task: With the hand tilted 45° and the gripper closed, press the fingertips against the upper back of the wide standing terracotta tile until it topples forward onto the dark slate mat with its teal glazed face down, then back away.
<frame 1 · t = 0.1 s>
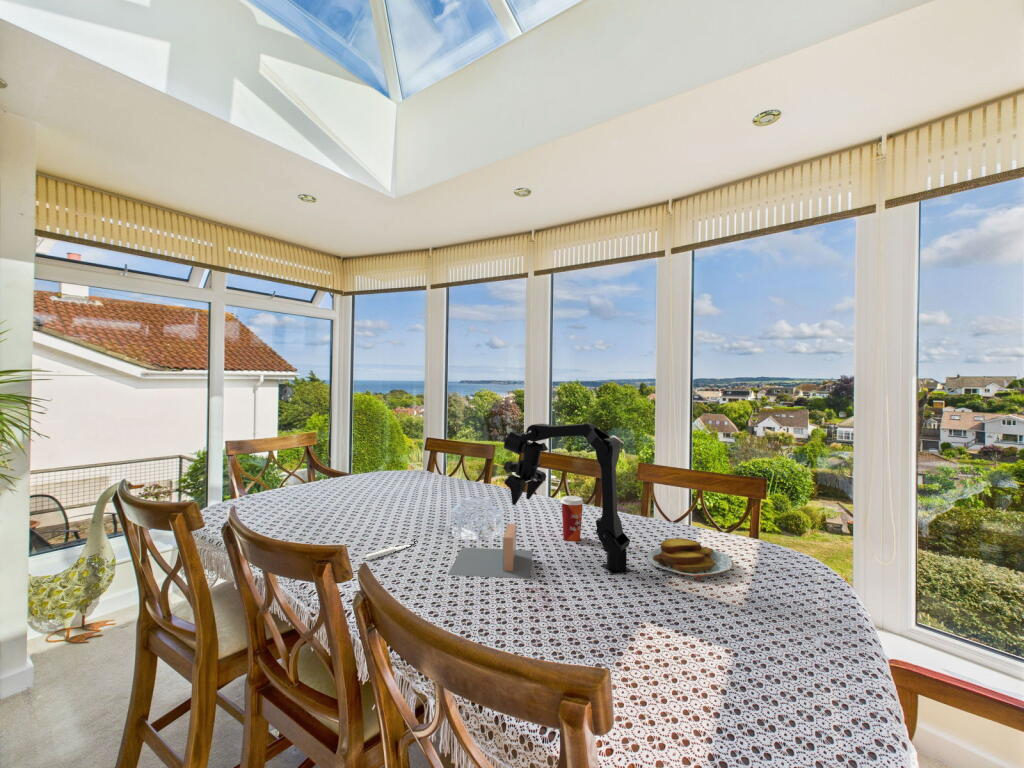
hand: (520, 501, 157), 15 cm above the table, tool pointing down, fingers open, 9 cm apart
food on plate: (688, 566, 143), on the table
mat: (493, 563, 141), on the table
tile: (514, 562, 141), point 1 cm above the table, touching mat
coffee cup: (571, 539, 165), on the table
knife: (400, 547, 156), on the table
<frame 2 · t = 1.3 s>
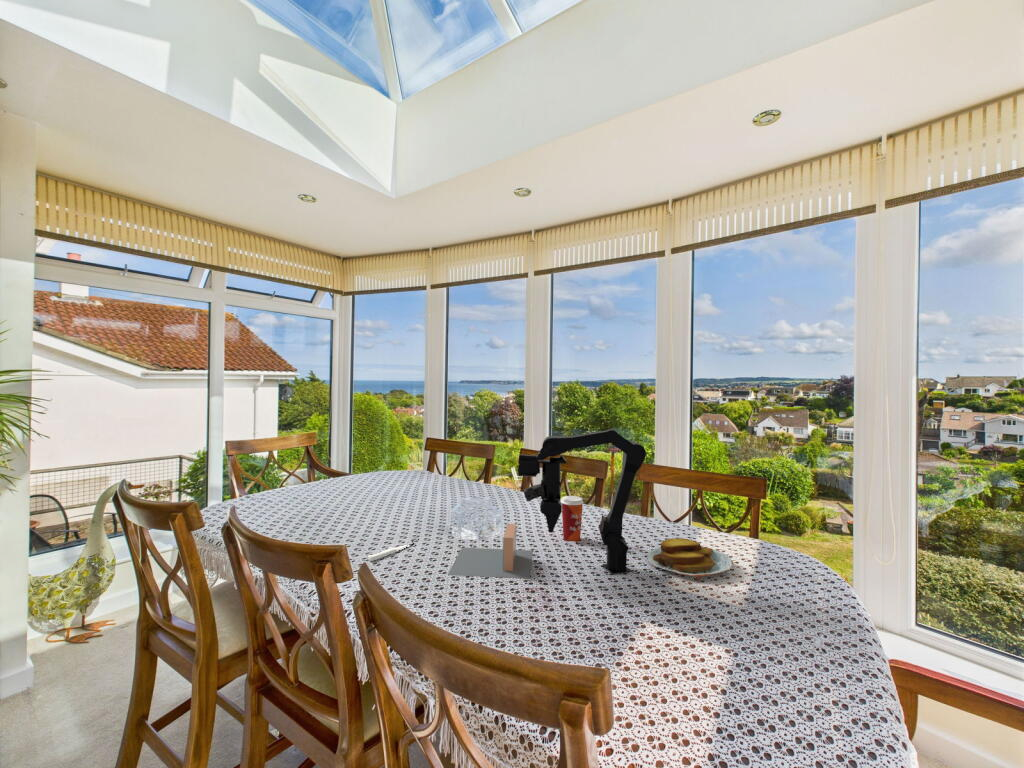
hand: (550, 527, 140), 12 cm above the table, tool pointing down, fingers open, 9 cm apart
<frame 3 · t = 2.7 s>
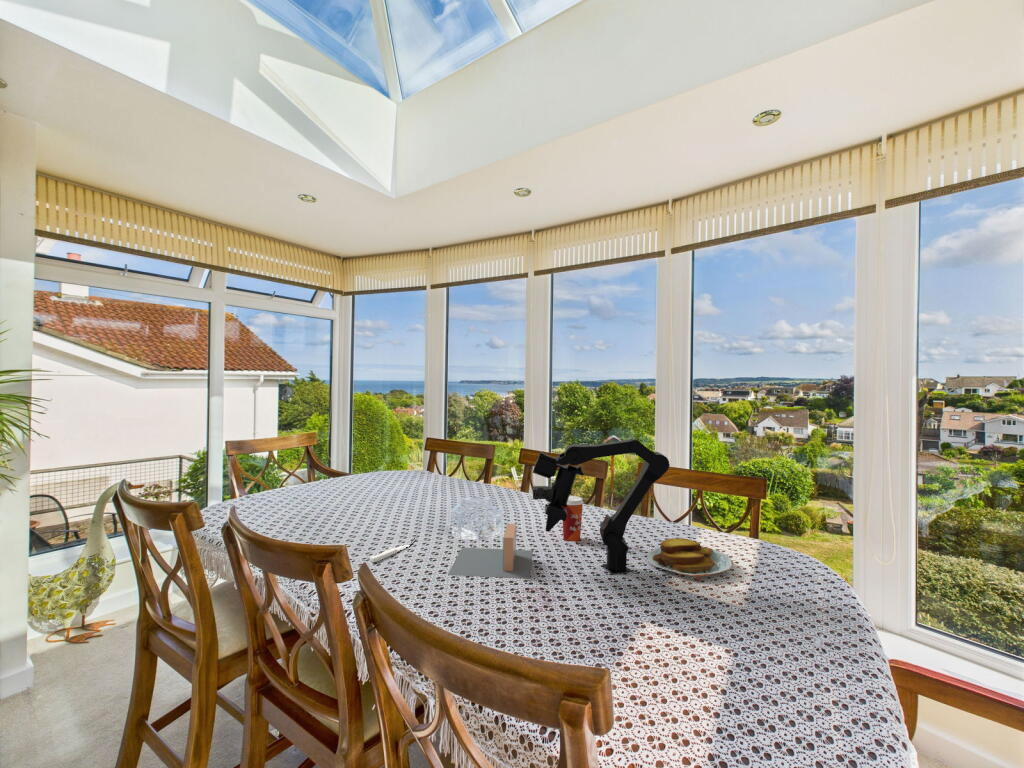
hand: (546, 531, 140), 11 cm above the table, tool tilted 20°, fingers closed
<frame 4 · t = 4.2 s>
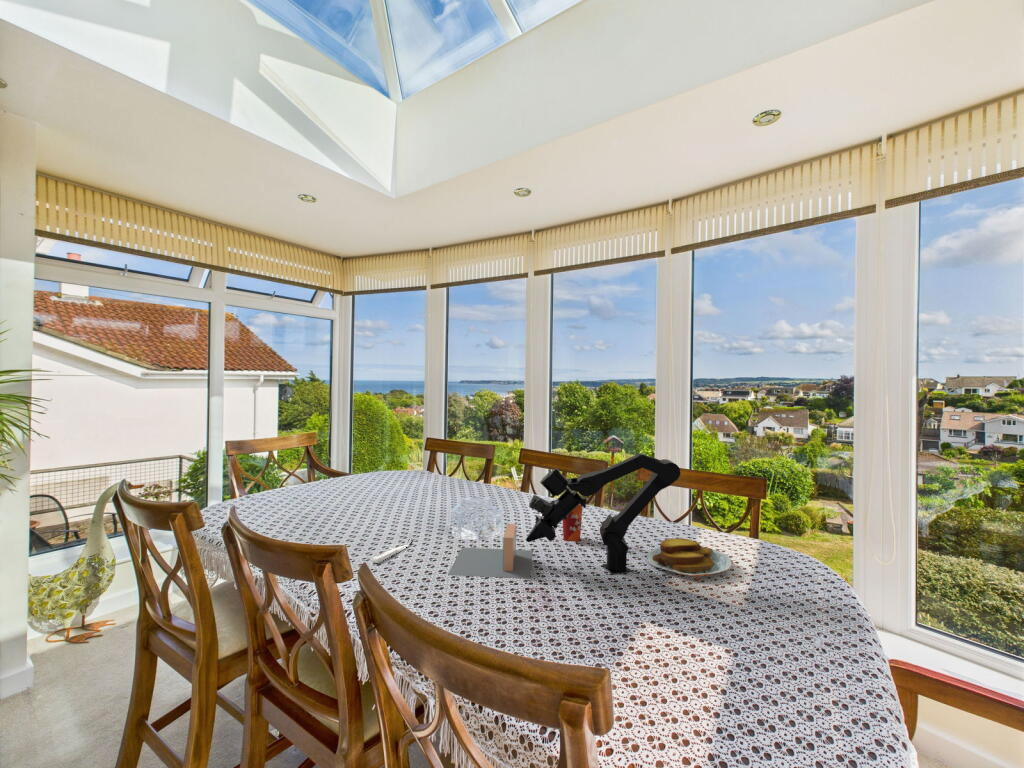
hand: (526, 540, 141), 8 cm above the table, tool tilted 45°, fingers closed
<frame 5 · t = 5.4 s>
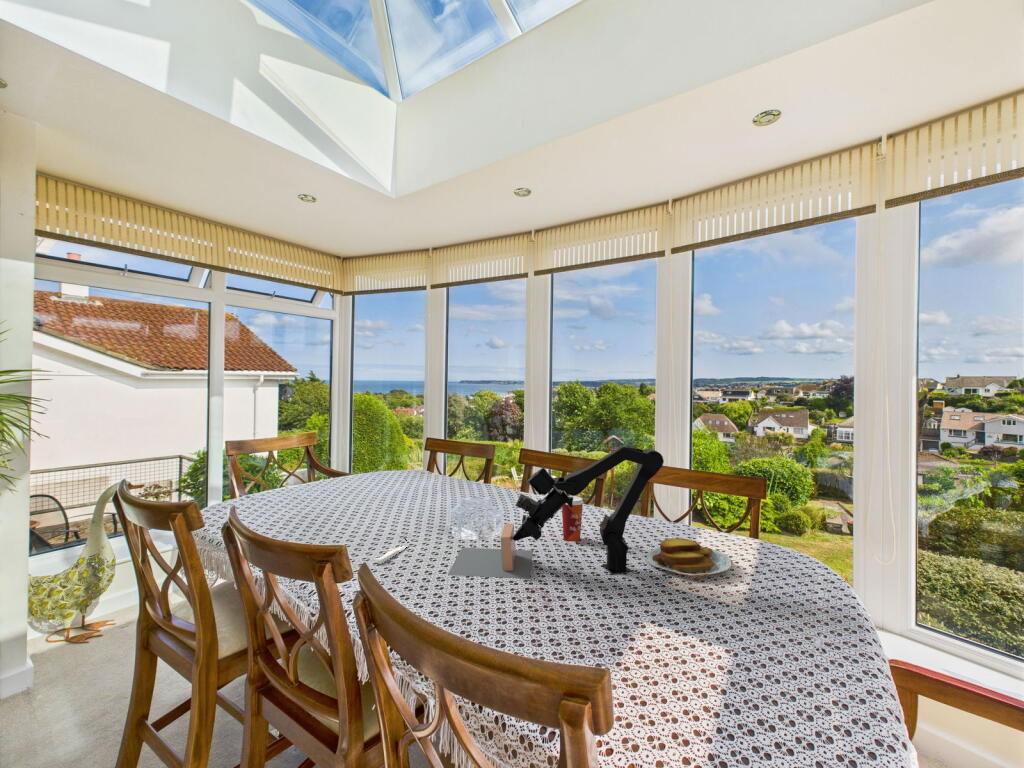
hand: (513, 539, 141), 8 cm above the table, tool tilted 45°, fingers closed, pressing on tile
tile: (514, 562, 141), point 1 cm above the table, touching gripper, mat
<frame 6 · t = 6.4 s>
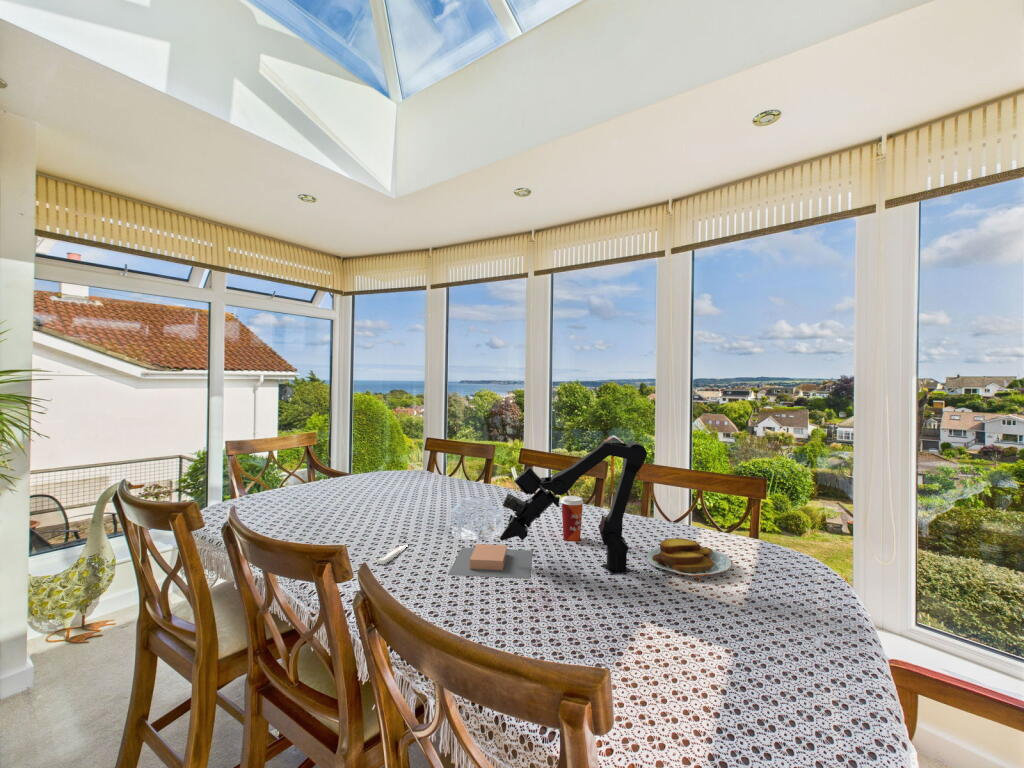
hand: (500, 539, 141), 8 cm above the table, tool tilted 45°, fingers closed
tile: (505, 552, 141), point 4 cm above the table, tilted 90°, touching mat
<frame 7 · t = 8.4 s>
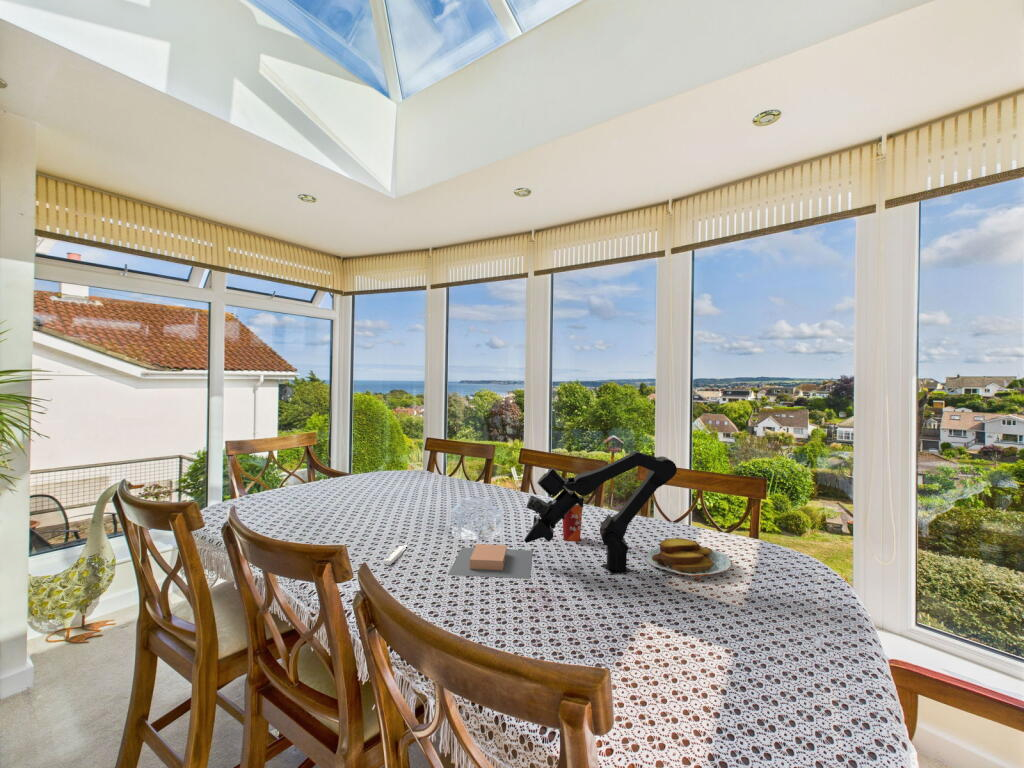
hand: (525, 541, 141), 7 cm above the table, tool tilted 45°, fingers closed
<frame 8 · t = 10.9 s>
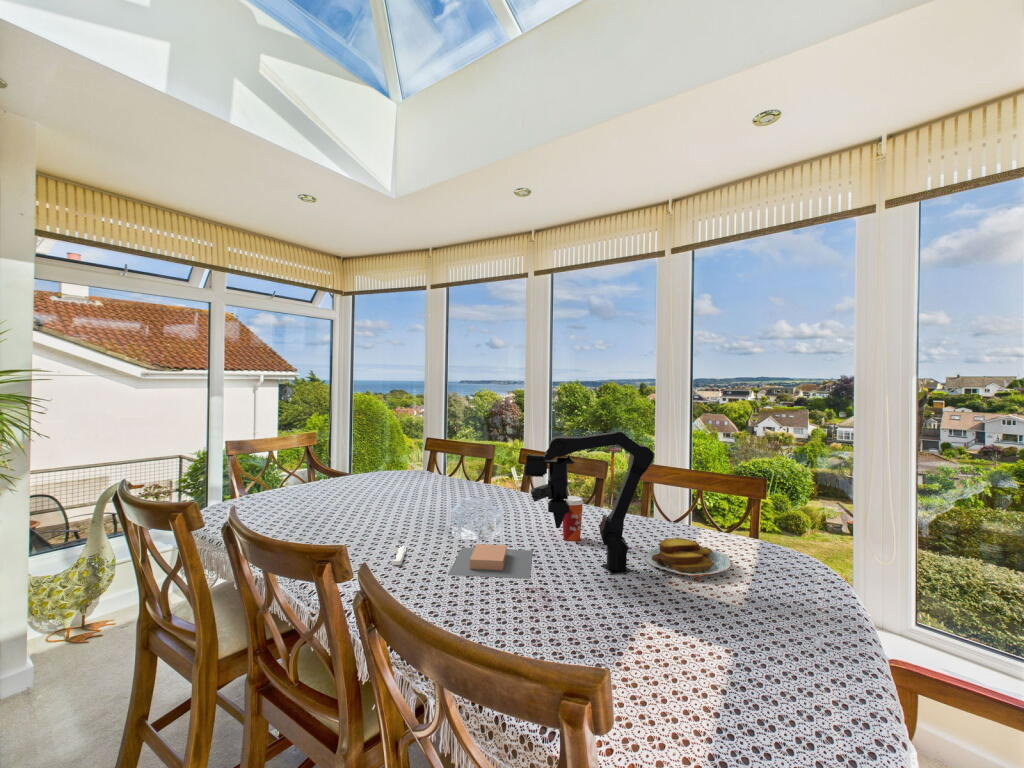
hand: (557, 527, 140), 12 cm above the table, tool pointing down, fingers closed
at the end: tile tilted 90°; tile inside the target area on the mat (0.5 cm from its centre), point 3.6 cm above the mat's base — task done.
